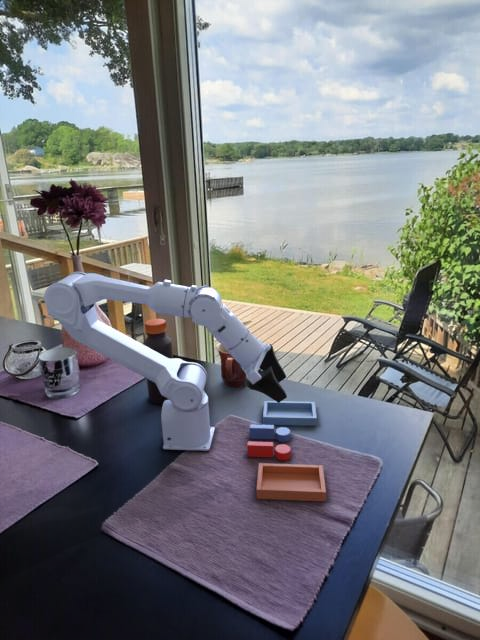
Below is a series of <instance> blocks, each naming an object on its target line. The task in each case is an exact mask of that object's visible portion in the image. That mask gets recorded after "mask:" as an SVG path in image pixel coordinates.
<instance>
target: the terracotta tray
mask: <svg viewBox="0 0 480 640" xmlns="http://www.w3.org/2000/svg"><path fill="white" fill-rule="evenodd" d="M256 479H257V480H256V490H255V491H256V500H257V499H258V500H279V501H281V500H282V501H302V502H305V501H306V502H327V489H326V479H325V472H324V465H323V464H302V463H301V464H298V463H296V464H295V463H270V462H269V463H267V462H266V463H265V462H258V468H257V478H256Z"/></svg>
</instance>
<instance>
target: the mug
mask: <svg viewBox="0 0 480 640" xmlns="http://www.w3.org/2000/svg"><path fill="white" fill-rule="evenodd" d="M216 350H217V352H218V355H219V358H220V359H219V360H220V377H221V381H222V384H223V385H224V386H226V387H228V388H230V389H239V388H243V387H245V386H247V381H248V379H247V378H246V373H245V372H244V371H243V369H242V368H241V365H240V364H239V363H238V362H237V361H236V360H235V359H234V358H233V357H232V356H231V354H230V353H229V352H228V351H227V350H226V349H225V348H224V347H223V346H222V345H221V344H220V343H219V344H218V345H217V346H216Z"/></svg>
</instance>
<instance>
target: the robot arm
mask: <svg viewBox="0 0 480 640" xmlns="http://www.w3.org/2000/svg"><path fill="white" fill-rule="evenodd" d="M43 297H44V298H43V300H44V305H45V308H46V312H47V315H48V316H49V317H51V318H53V319H55V320H56V321H57V322H58V323H59V324H60V325H61V326H62V328H63V329H65V332H67V333H68V335H69V337H71V338H72V339H73V340H74V341H75V342H77V343H79V344H81V345H84V346H85V347H87V348H89V349H91V350H93V351H94V352H96V353H98V354H100V355H102V356H103V357H106V358H108V359H109V360H111V361H113V362H116V363H117V364H119V365H121V366H123V367H125V368H127V369H129V370H130V371H132V372H134V373H136V374H138V375H140V376H141V377H144V378H145V379H146V380H147V379H149V380H151V381H153V382H155V383H156V385H157V387H158V389H159V391H160V393H161V395H163V396H164V397H166V398H168V399H169V400H165V401H164V403H163V404H162V407H161V413H160V414H161V416H160V419H161V430H162V432H161V433H162V441H163V445H162V449H163V450H168V451H169V450H171V451H200V452H202V451H204V452H208V451H210V449H211V445H212V442H213V438H214V434H215V431H216V427H214V426H211V422H210V421H211V420H210V407H209V406H210V405H209V396H208V395H207V393H206V392H205V387H206V383H207V380H208V373H207V370H206V369H205V368H204V366H203V365H201V364H200V363H198V362H193V361H185V360H183V359H182V358H177V357H175V358H174V357H173V359H169V358H167V357H165V356H163V355H161V354H159V353H158V352H156V351H154V350H152V349H150V348H148V347H147V346H145V345H143V343H141V342H139V341H137V340H135V339H134V338H132V337H130V336H128V335H126V334H125V333H123V332H121V331H119V330H117V329H116V328H114V327H112V326H110V325H108V324H106V323H104V322H103V321H101V320H99V318H98V313H97V309H96V303H99V302H100V301H103V300H109V301H115V302H116V301H117V302H125V303H134V304H140V305H141V304H142V305H146V306H148V307H149V309H150V310H151V311H152V313H158V314H163V315H167V316H168V315H169V316H174V317H180V318H185V319H187V318H192V319H191V321H192V323H194V324H196V325H198V326H201V327H204V328H206V330H207V331H208V332H209V333H210V335H212V337H214V339H215V340H216V341H217V342H218V343H219V344H221V345H222V346H223V347H224V348H225V349H226V350H227V351H228V352H229V353H230V354H231V356H232V357H233V358H234V359H235V360H236V361H237V362H238V363H239V364H240V365H241V368H242V369H243V371H244V372H245V373H246V378H247V379H248V381H247V384H246V387H248V389H249V390H252V391H256V392H259V393H261V394H264V395H265V396H266V397H268V398H270V399H271V400H272V401H276V402H278V403H279V402H281V401H285V400H286V399H287V398H288V395H287V393H286V391H285V389H284V388H283V387H282V385H281V384H280V383H281V382H282V381H284V380H285V379H286V378H287V375H286V372H285V371H284V369H283V367H282V365H281V364H280V362H279V360H278V358H277V356H276V352H275V350H274V347H273V344H272V343H269V342H268V343H266V344H264V343H263V342H262V341H261V340H260V339H259V338H256V336H255V335H254V334H253V333H252V332H251V330H249V328H248V327H247V326H246V325H245V324H244V323H243V322H242V321H241V319H239V317H238V316H237V315H236V314H235V313H233V311H231V310H230V309H229V308H228V306H227V305H226V304H225V303H224V302H222V296H221V294H220V293H219V291H218V290H216V289H215V288H214V287H211V286H208V285H202V286H199V287H198V285H195V284H192V285H191V286H185V285H180V284H174V283H172V280H169V279H164V280H163V281H162V282H161V281H157V282H156V283H154V284H153V285H151V286H148V285H144V284H140V283H136V282H130V281H126V280H121V279H117V278H113V277H109V276H104V275H100V274H97V273H95V272H88V273H85V272H82V271H73V272H71V273H69V274H68V275H66V277H64V278H63V279H61V280H59V281H56V282H53V283H51V284H50V285H48V287H47V288H46V289H45V290H44V294H43Z"/></svg>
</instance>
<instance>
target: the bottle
mask: <svg viewBox="0 0 480 640" xmlns="http://www.w3.org/2000/svg"><path fill="white" fill-rule="evenodd" d="M167 329H168V328H167V320H166V319H163V318H151V319H148V320H146V321H144V331H145V335H146V338H145V339H144V340H143V342H142V344H143V345H145V346H147V347H148V348H150V349H152V350H154V351H156V352H158V353H159V354H161V355H163V356H165V357H167V358H169V359H174V351H173V340H172V339H171V338H170V337H169V336H168V335H167ZM146 385H147V393H148V400H149V402H151V403H152V404H155V405H163V403H164V401H165V400H169V399H168V398H166V397H164V396H163V395H161V393H160V391H159V389H158V387H157V385H156V383H155V382H153V381H151V380H149V379H147V378H146Z"/></svg>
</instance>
